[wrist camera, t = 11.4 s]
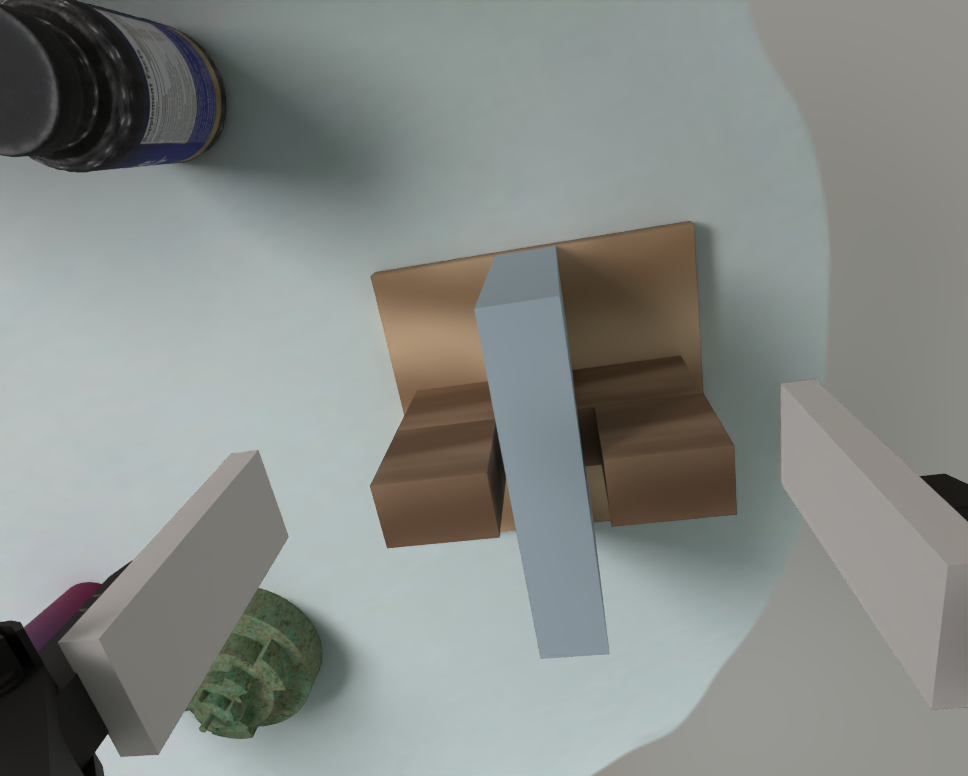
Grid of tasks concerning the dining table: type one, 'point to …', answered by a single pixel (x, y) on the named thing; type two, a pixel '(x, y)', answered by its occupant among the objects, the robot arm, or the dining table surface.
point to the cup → (58, 613)
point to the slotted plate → (542, 449)
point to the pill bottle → (102, 88)
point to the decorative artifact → (259, 670)
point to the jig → (597, 384)
